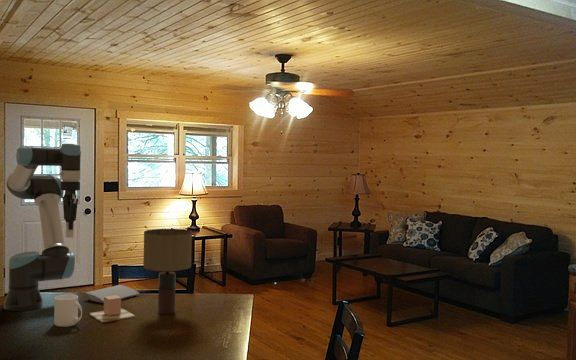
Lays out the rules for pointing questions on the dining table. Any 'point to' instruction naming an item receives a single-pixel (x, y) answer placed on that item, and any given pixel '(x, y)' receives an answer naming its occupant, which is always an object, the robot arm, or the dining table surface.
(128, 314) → the board
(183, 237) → the lamp
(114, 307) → the pink rectangular block
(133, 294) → the book
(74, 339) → the dining table surface
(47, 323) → the dining table surface
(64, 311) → the mug
